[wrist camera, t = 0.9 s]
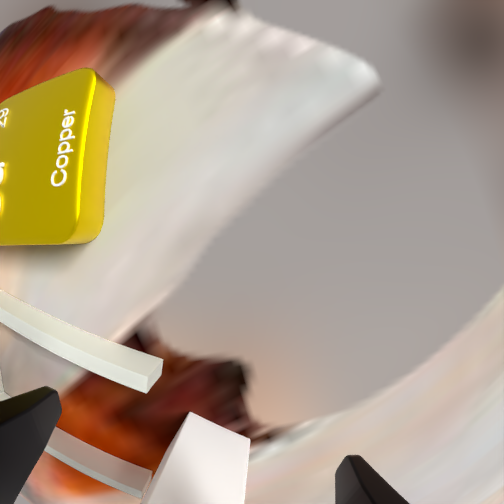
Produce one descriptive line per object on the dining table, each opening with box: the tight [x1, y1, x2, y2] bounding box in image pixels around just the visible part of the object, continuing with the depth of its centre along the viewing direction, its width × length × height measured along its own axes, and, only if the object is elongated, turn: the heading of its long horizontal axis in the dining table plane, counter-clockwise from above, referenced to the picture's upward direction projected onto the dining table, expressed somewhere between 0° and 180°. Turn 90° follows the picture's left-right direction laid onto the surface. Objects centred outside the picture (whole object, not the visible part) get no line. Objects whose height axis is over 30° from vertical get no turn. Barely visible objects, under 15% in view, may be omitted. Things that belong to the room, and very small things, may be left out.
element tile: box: [0, 68, 115, 246], centre depth 20 cm, size 15×15×5 cm
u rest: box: [0, 289, 163, 499], centre depth 21 cm, size 16×24×4 cm
